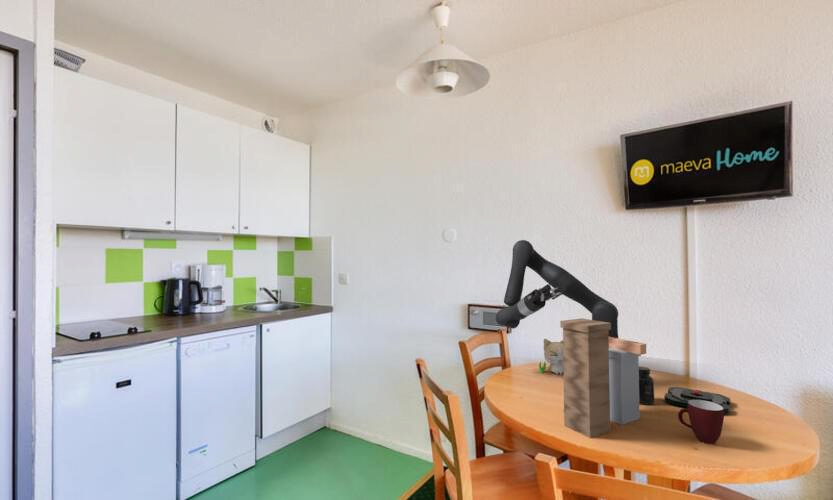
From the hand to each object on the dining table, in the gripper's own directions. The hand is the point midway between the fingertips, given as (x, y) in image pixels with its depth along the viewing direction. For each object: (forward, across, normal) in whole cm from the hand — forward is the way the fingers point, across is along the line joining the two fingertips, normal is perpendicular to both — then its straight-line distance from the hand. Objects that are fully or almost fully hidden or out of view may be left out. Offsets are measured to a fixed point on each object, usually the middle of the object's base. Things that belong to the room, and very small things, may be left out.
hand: (557, 286), depth 143 cm
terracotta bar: (+8, +1, +27) cm, 28 cm away
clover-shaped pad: (+4, +36, +50) cm, 62 cm away
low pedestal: (-1, +1, +47) cm, 47 cm away
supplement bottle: (-4, +20, +45) cm, 50 cm away
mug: (+17, +7, +58) cm, 60 cm away
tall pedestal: (0, -15, +47) cm, 50 cm away
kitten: (-39, +21, +25) cm, 51 cm away
